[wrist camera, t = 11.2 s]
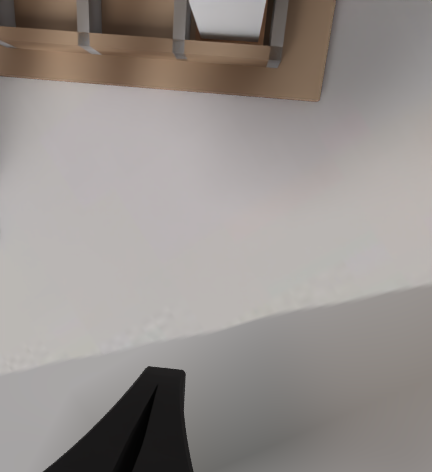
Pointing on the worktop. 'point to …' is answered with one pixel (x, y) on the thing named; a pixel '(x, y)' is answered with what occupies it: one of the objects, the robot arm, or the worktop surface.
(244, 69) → the slot rack
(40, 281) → the worktop surface
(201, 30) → the blanking panel
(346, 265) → the worktop surface
